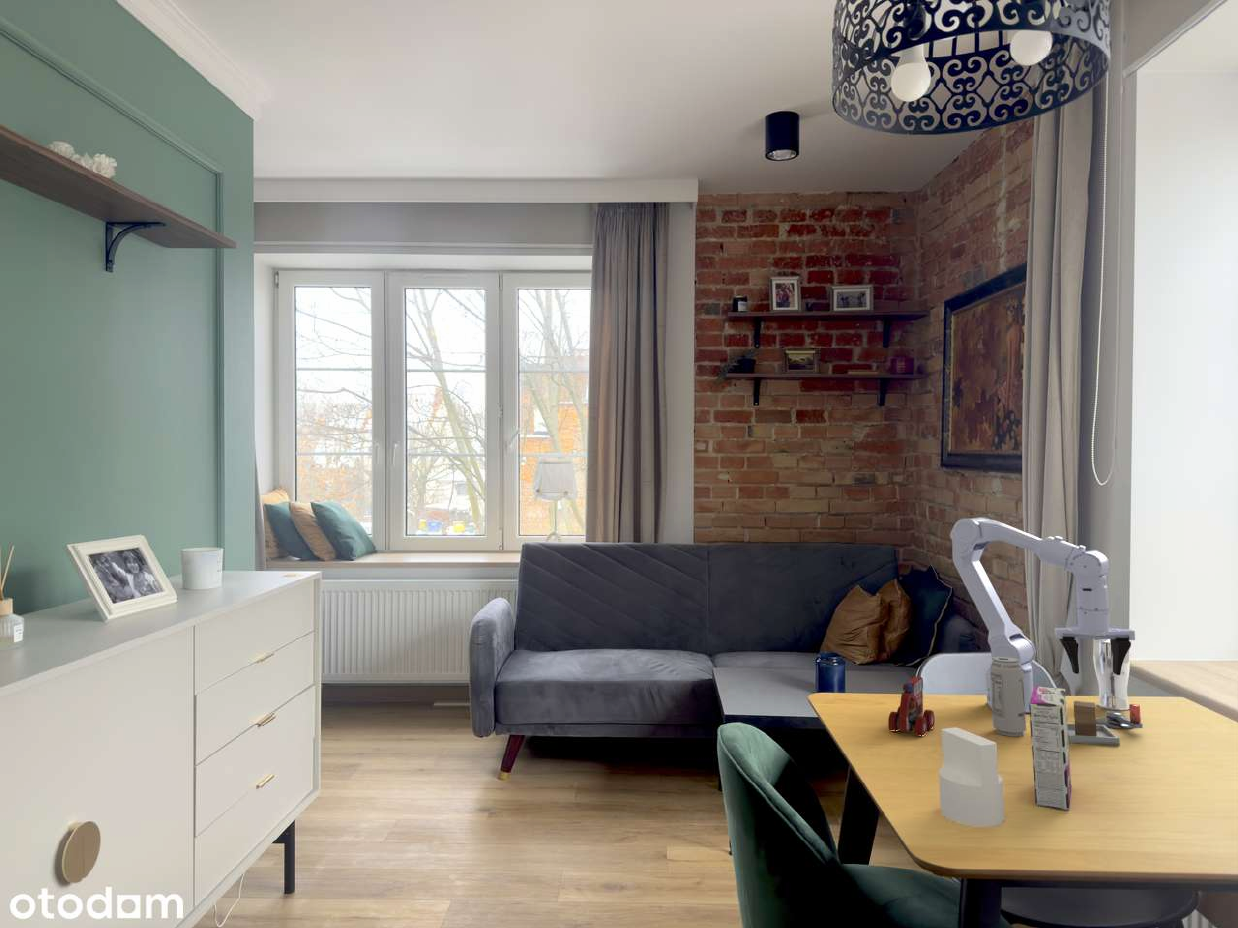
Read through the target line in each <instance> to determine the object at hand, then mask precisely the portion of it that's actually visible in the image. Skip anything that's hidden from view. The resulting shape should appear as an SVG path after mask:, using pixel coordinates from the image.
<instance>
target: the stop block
mask: <svg viewBox="0 0 1238 928" xmlns="http://www.w3.org/2000/svg"><path fill="white" fill-rule="evenodd" d="M1073 713H1074V715H1073V717H1074V724H1075V735H1081V736H1097V731H1096V725H1097V723H1096V719H1097V717H1096V716H1097V714H1096V702H1090V701H1080V700H1074V701H1073Z"/></svg>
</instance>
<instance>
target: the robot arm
mask: <svg viewBox="0 0 1238 928" xmlns="http://www.w3.org/2000/svg"><path fill="white" fill-rule="evenodd" d="M949 537H950V539H951V543H952V549H951V550H952V551H951V552H952V563H953V565H954V567H955V569H956V570H957V572H958V574H959V576H960V578H961V581H962V582H963V584H964V586H965V587H966V589H967V592H968V593H969V596H970V597H971V599H972V602H973V603H974V605H975V607H976V609H977V611H978V612H979V615H980V617H981V619H982V620H983V622H984V624H985V626H986V628H987V630H988V636H987V642H988V645H989V647H990V654H991V655H990V656H991V659H992V660H993V658H994V657H999V656H1006V657H1014V658H1018V659H1019V662H1020V664H1021V666H1022V667H1023V678H1024V698H1025V714H1030V710H1029V701H1030V698H1031V695H1032V692H1033V688H1034V681H1033V680H1034V677H1033V667H1032V664H1031V663H1032V662H1033V660H1035V657H1036V653H1037V652H1036V647H1035V645H1034V643H1033V642H1032V641H1031V640H1030V639H1029V638H1027V637H1026V636H1025V634H1024V632H1023V631H1022V629H1021V628H1020V627H1018V626H1017V625H1015V624H1014V623H1013V622H1012V620H1011V618H1010V616H1009V615H1008V612H1007V611H1006V608H1005V607H1004V605H1003V603H1002V601H1001V599H1000V597H999V595H998V594H997V591H996V590H995V588H994V586H993V584H992V582H991V580H990V579H989V576H988V575H987V573H986V570H985V569H984V567H983V565H982V563H981V562H980V560H981V556H982V554H983V552H984V550H985V548H987V546H988V545H989V544H990V543H991V542H993V541H996V542H997V541H1001V542H1005V543H1007V544H1010V545H1013V546H1016V547H1019V548H1021V549H1025V550H1027V551H1031V552H1033V553H1035V554H1036V556H1037V557H1038V560H1040V561H1041V562H1043V563H1046V564H1049V565H1051V566H1054V567H1056V568H1059V569H1062V570H1063V571H1067V572H1071V574H1072V575H1073V576H1074V577H1075V584H1076V586H1075V589H1076V590H1075V592H1076V593H1075V595H1076V612H1077V626H1076V627H1054V637H1055V639H1059V641H1060V643H1061V645H1062V647H1063V649H1064V650H1065V652H1066V655H1067V656H1068V659H1069V663H1070V665H1071V670H1072V673H1074V674H1076V675H1077V674H1078V675H1079V674H1080V666H1079V642H1077V639H1082V640H1083V639H1086V640H1087V639H1088V640H1089V639H1091V640H1093V639H1110V642H1111V648H1112V655H1113V673H1114V674H1116V675H1120V674H1121V668H1122V664H1123V661H1124V658H1125V656H1126V654H1127V652H1128V650H1129V651H1130V649H1131V647H1132V641H1135V640H1136V633H1135V630H1133V629H1126V628H1111V627H1110V613H1109V612H1110V611H1109V591H1108V584H1107V583H1108V582H1107V574H1108V573H1109V571H1110V568H1111V564H1110V560H1109V558H1108V557H1107V556H1106V555H1105V554H1104V553H1102V552H1100V551H1099V550H1098V549H1097V550H1096V549H1090V550H1086V549H1087V548H1086V546H1084V545H1079V546H1078V545H1075V544H1073V543H1070V542H1067V541H1064V538H1063V537H1062V536H1059V535H1057V536H1056V535H1055V536H1054V537H1053V536H1048V537H1047V536H1046V537H1045V538H1039V537H1038V536H1035V535H1032V534H1030V533H1027V532H1025V531H1024V530H1021V529H1018V528H1016V527H1014V526H1011V525H1008V524H1006V523H1004V522H1001V521H999V520H994V519H990V518H987V517H985V516H980V517H974V518H961V519H958V520H957V521H956V522H955V523H954V525H953V527H952V529H951V531H950V533H949ZM985 680H986V681H985V682H986V685H985V686H986V703H987V705H988V706H989V708H990V709H991V710H992V690H991V670H990V668H989V667H988V668H986V672H985Z"/></svg>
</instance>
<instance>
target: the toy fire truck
mask: <svg viewBox="0 0 1238 928" xmlns="http://www.w3.org/2000/svg"><path fill="white" fill-rule="evenodd" d="M923 689H924V680H923V677H922V676H916V675H915V676H914V677H913V678H912V679H910V680H908V682H906V683H905V684H903V686H902V690H903V692H902V693H901V695H900V703H899V706H898V708H897V711H890V713H889V715H888V720H887V721H888V722H887V725H888V730H889V731H890V730H895V731H896V730H898V729H900V730H899V731H901V732H904V733H909V732H912V731H913V729H914V733H915V735H916V734H917V735H921V736H922V735H924V734H925V733H926V734H927V731H928V730H927V729H931V728H932V727H933V726H935V719H936V717H935V714H934V713H935V712H934V711H933V710H931V709H925V710H924V704H923V703H924V701H923V700H924V699H923V698H924V697H923V694H924V693H923V691H924V690H923ZM933 728H934V727H933ZM926 734H925V735H926ZM917 735H916V736H917ZM921 736H920V737H921Z"/></svg>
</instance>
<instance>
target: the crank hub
mask: <svg viewBox="0 0 1238 928" xmlns="http://www.w3.org/2000/svg"><path fill="white" fill-rule="evenodd" d="M1096 725H1105V726H1106V727H1107V728H1108V729H1115V730H1131V729H1135V728H1134V727H1131V726H1129V725H1127V724H1125V723H1122V722H1120V721H1118V720H1113V719H1109V718H1106V717H1100V718H1099V717H1098V718H1096Z"/></svg>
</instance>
